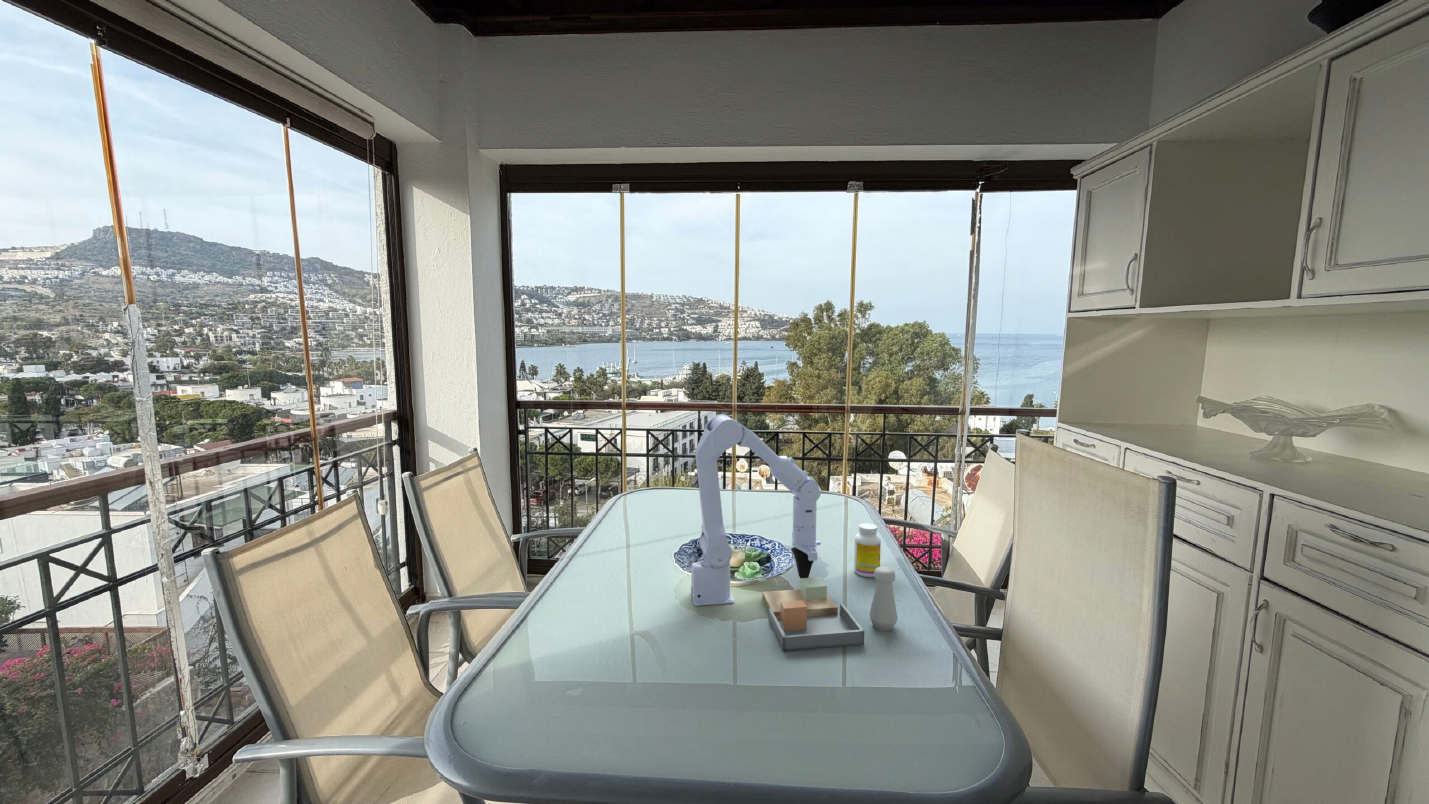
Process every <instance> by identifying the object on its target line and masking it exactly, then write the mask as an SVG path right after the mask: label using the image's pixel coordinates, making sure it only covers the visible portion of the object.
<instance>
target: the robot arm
mask: <svg viewBox="0 0 1429 804" xmlns="http://www.w3.org/2000/svg"><path fill="white" fill-rule="evenodd" d="M736 445H737V446H739V447H741V448H742V447H743V448H748V449H749V450H751V451H752V452H753V453H754V454H756V455H757V456H758V457H759V458H760V459H761V460H762V461H764V462H765V463H766V464H768V466H769V472H770V474H771V475H772V477H774V479H776V480H777V481H778V482H779V483H780V484H782V485H783V486H784V487H785V488H786V489H787V490H789V492H790V494H793V496H792V497H793V500H792V501H793V502H792V503H793V505H792V532H791V545H792V547H791V549H790V550H791V552H792V555H793V557H794V560H795V564H796V569H797V573H798V577H799V579H800V578H810V573H811V570H812V567H813V564H814V562H815V561H818V551H817V547H818V546H821V540H819V539H817V508H818V507H817V503H818V502H817V501H819V498H820V497H821V494H822V491H821V489H820V487H819V484H818V483H817V481H816V480H815V479H813V478H811V477H809V476H808V475H809V473H808V472H807V470H802V468H800V467H799V466H798V465H797V464H796V463H795V462H796V460H795V459H794V458H793V457H792V456H789V457H788V456H787V455H778V454H776V453H775V451H774V450H772V448H771V447H769V446H768V445H767V443H765V442H764V441H763V440H762V439H761V438H760V437H759V436H758V435H757V434H756V433H755V432H754V431H752V430H751V429H749V428H748V427H746V426H744V425H742V424H741V423H740V422H739V421H737V420H736V419H732V417H731V416H729V415H727V414H724V413H720V414H718V415H715V416H714V417H712V418H711V419H710V420H709V421H707V423H705V425H704V430H703V432H702V435H701V437H700V439H699V441H698V444H697V446H696V448H695V452H694V453H695V456H694V457H695V464H696V474H697V483H698V491H699V501H700V502H699V503H700V510H701V520H702V524H701V526H700V527H701V528H700V529H701V532H700V537H699V539H698V544H699V547H700V549H701V550H702V554H701V556H700V559H699V561H696V562H692V563H691V568H690V570H691V571H690V574H691V575H690V577H691V578H690V579H691V581H690V582H691V584H690V585H691V586H690V593H691V596H692V600H693V605H694V606H696V607H697V606H711V605H722V604H723V605H725V604H733V603H735V599H734V597H733V594H732V591H731V559H732V557H733V549H732V547H731V545H730V544H729V542H728V539H727V533H726V529H725V526H724V518H723V508H722V500H721V499H722V498H721V490H720V489H721V488H720V479H719V478H720V477H719V469H718V468H719V467H718V459H719V458H720V457H721V456H722V455H723V453H724V452H726V451H727V450H729V449H731V448H733V447H735V446H736Z"/></svg>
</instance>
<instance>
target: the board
mask: <svg viewBox="0 0 1429 804" xmlns="http://www.w3.org/2000/svg"><path fill="white" fill-rule="evenodd" d="M799 600H803V601H804V603H805V604H806V606H807V617H808V616H821V615H834V614H839V609H838V608H839V607H838V606H837V604H836V603H835V602H834V600H833V599H832V597H831V596H830V595H829V593H827V598H825V599H811V600H806V599H805V598H804V596H803V595H802V593H801V591H800V588H798V589H786V590H785V589H784V590H773V591H771V590H770V591H769V590H768V591H762V602H763V604H764V606H765V608H766V609H767V612H768V613H769V609H772V611H773V613H774V614H775V616H776V618H777V619H780V603H781V602H786V601H799Z"/></svg>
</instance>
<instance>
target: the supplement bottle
mask: <svg viewBox="0 0 1429 804" xmlns="http://www.w3.org/2000/svg"><path fill="white" fill-rule="evenodd" d="M858 531H859V532H858V533H857V534H856V535H855V536H854V555H853V556H854V557H853V558H854V559H853V560H854V562H853V571H854V573H856V575H858V576H861V577H863V578H864V577H866V578H875V577H874V571H875V569H876V568H878V567H881V543H882V542H881V540H882V539H881V538H880V536H879V535H878V534H877V533H878V526H877V525H876V524H873V523H860V524H859V525H858Z"/></svg>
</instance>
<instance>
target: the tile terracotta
mask: <svg viewBox="0 0 1429 804" xmlns="http://www.w3.org/2000/svg"><path fill="white" fill-rule="evenodd" d="M780 624H781V626H782V628H783V630H784V631H789V630H801V629H807V606H806V604H805V603H804V601H803V600H799V601H786V602H781V603H780Z"/></svg>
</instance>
